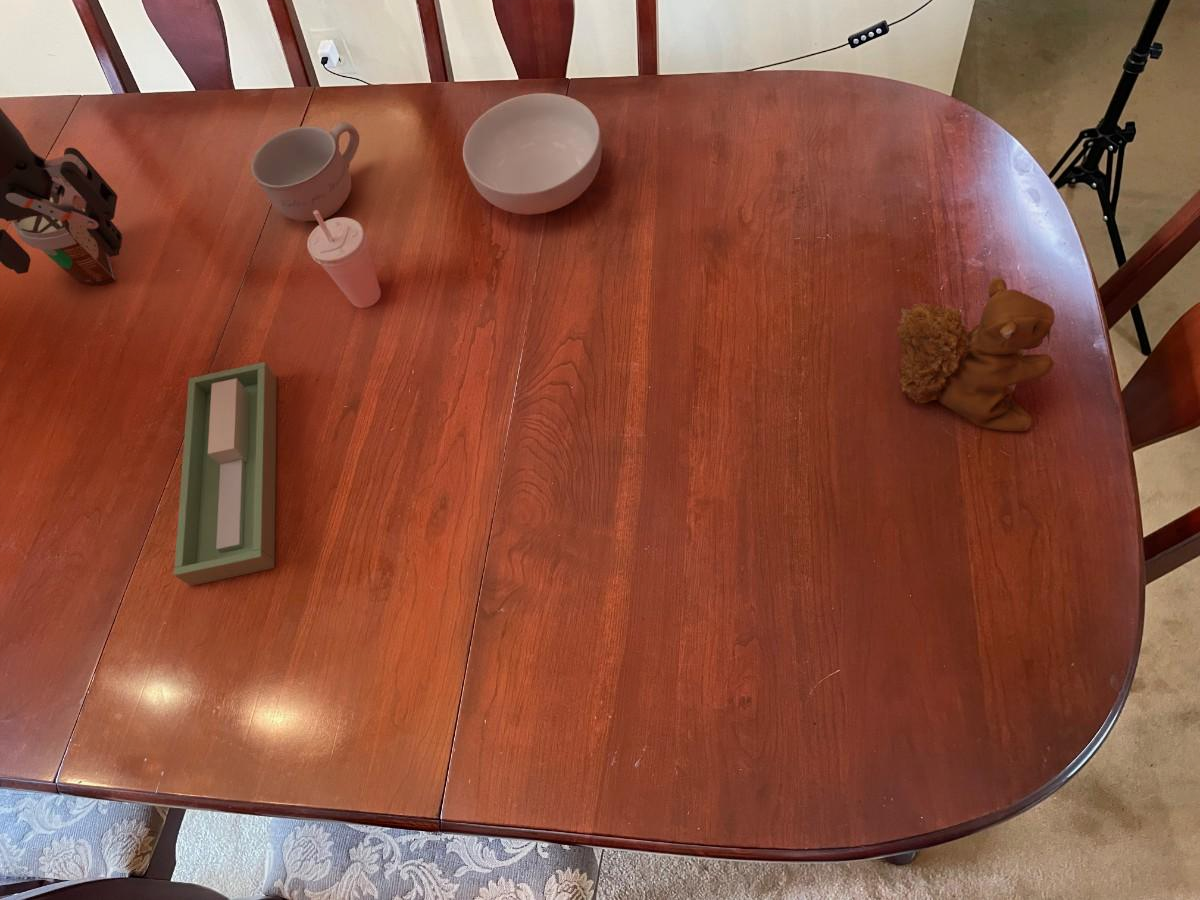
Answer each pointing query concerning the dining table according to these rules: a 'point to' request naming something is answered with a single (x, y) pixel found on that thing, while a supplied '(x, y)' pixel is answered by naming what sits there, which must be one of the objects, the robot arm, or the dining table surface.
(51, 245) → the food container
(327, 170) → the teacup
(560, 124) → the cereal bowl
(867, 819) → the dining table surface
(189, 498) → the tray
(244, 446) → the grey block with handle
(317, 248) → the smoothie
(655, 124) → the dining table surface
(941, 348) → the stuffed squirrel
